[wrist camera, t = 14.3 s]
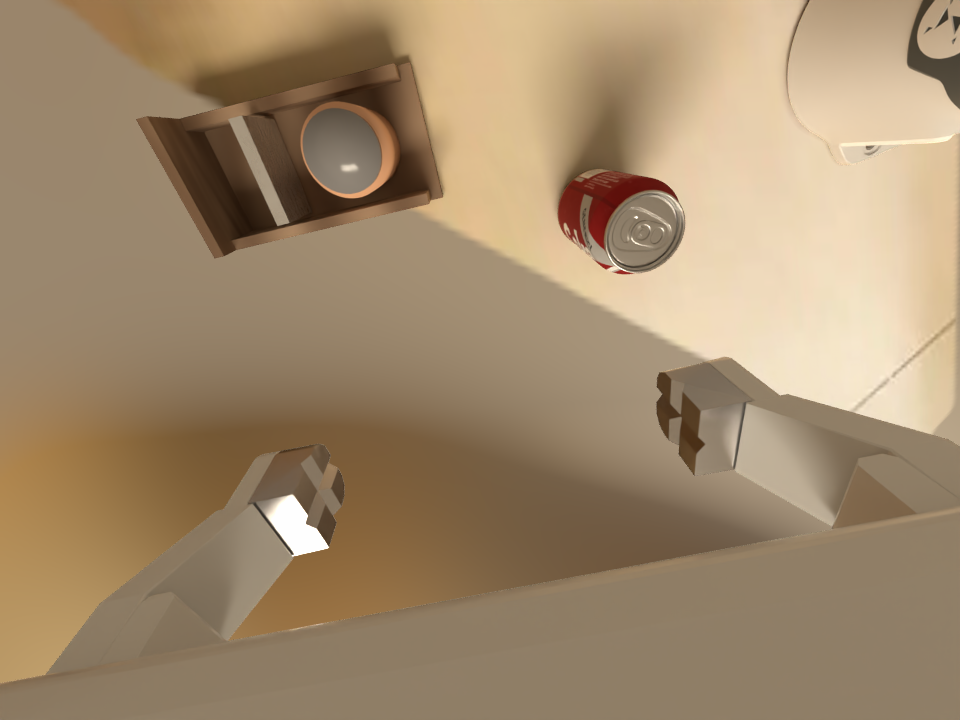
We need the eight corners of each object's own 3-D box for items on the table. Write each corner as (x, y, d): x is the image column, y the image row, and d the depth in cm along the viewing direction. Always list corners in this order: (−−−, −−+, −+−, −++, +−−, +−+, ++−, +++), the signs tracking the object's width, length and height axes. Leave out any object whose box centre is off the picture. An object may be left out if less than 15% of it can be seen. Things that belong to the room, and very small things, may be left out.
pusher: (274, 119, 31) (241, 115, 26) (312, 211, 35) (289, 222, 30) (243, 127, 31) (206, 124, 26) (284, 218, 35) (258, 230, 30)
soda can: (568, 160, 35) (618, 168, 24) (637, 177, 36) (713, 192, 25) (546, 236, 38) (582, 272, 27) (610, 249, 39) (667, 289, 28)
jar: (393, 103, 31) (375, 96, 25) (406, 184, 34) (393, 196, 28) (319, 110, 31) (283, 104, 25) (339, 190, 34) (311, 203, 28)
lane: (410, 63, 30) (400, 45, 25) (442, 196, 35) (440, 207, 30) (192, 120, 31) (134, 115, 26) (253, 242, 36) (216, 260, 31)
